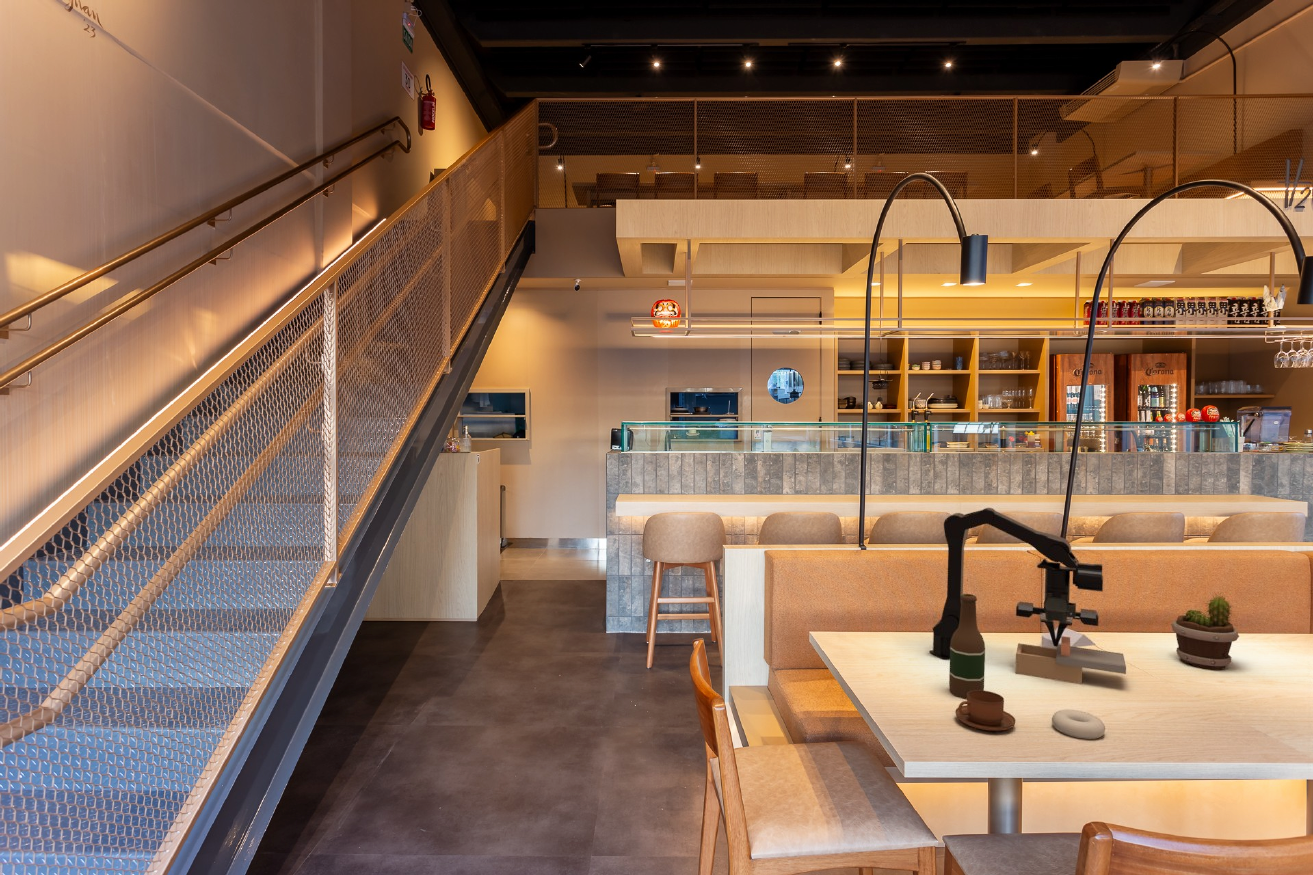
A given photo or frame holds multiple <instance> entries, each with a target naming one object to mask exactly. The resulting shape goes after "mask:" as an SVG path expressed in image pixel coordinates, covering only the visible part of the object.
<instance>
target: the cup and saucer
mask: <svg viewBox="0 0 1313 875" xmlns="http://www.w3.org/2000/svg"><path fill="white" fill-rule="evenodd" d="M1004 706H1005V698H1004V697H1003V696H1002V695H1000V694H998V693H996V692H993V691H990V690H989V691H988V690H984V691H983V690H974V691H970V692H968V693H967V699H966V700H964V701H963V700H962V701H961V702H960V703H959V704H958V707H957V708H955V715H956V717H957V718H958V719H959V721H961V722H962V723H963V724H965V725H968V726H969V727H972V728H974V729H978V730H982V731H989V732H1000V731H1006V730H1009V729H1011V728H1013V727H1014V726H1015V724H1016V718H1015V717H1014V716H1013V715H1012V714H1011V713H1009V712H1007V711H1005V709H1004V708H1005V707H1004Z"/></svg>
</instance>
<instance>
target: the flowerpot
mask: <svg viewBox="0 0 1313 875" xmlns="http://www.w3.org/2000/svg"><path fill="white" fill-rule="evenodd" d="M1222 593H1223V592H1221V593H1220V594H1219V595H1217V594H1214V595H1215V596H1214V595H1212V598H1208V599H1207V600H1208V601H1207V603H1206V604H1205V605H1206V606H1205V607H1206V608H1207V609H1206V610H1204V611H1206V612H1205V613H1204V611H1203V610H1201V609H1198V608H1197V607H1195V608H1192V607H1189V609H1187V610H1186V612H1185V615H1178V617H1177V618H1176V619H1175V620H1173V621H1172V623H1171V624H1170V625H1171V629H1172V631H1173V632H1174V633H1175V637H1176V642H1177V646H1178V647H1177V648H1176V650H1175V652H1176V654H1177V656H1178V657H1179V658H1180V660H1181V662H1182V663H1184V664H1191V665H1192V666H1193V667H1196V668H1199V667H1200V668H1201V669H1206V670H1223V669H1225V668H1226V666H1229V665H1230V664H1231V663H1233V662H1232V661H1233V660H1232V656H1231V655H1230V651H1231V647H1232V643H1233V642H1236V641H1237V640H1238V639H1239V638H1240V635H1239V632H1238V630H1237V629H1236V628H1234V625H1233V623H1231V618H1232V617H1233V612H1234V611H1233V606H1232V605H1231V602H1230V600H1226V596H1224V594H1222ZM1221 594H1222V595H1221ZM1206 614H1207V615H1206Z"/></svg>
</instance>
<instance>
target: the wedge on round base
mask: <svg viewBox="0 0 1313 875" xmlns="http://www.w3.org/2000/svg"><path fill="white" fill-rule="evenodd" d="M1057 629H1058V627H1057V628H1056V629H1055V636H1056V635H1057ZM1062 636H1064V637H1070V646H1072V647H1079V648H1082V647H1090V646H1097V644H1096V643H1095V642H1093V641H1092V640H1091V639H1090V638H1089V637H1087V635H1085V634H1084V633H1082V632H1077V631H1076V630H1072V629H1070V628H1067V627H1066V628H1065V630H1064V632H1063V634H1062ZM1062 636H1061V637H1062ZM1040 645H1041V646H1042V647H1049V648H1056V649H1057V647H1056V646H1054V645H1053V642H1052V639H1051V635H1050V632H1046V633H1044V632H1043V633H1042V634H1041V644H1040ZM1058 645H1061V638H1060V641H1059V643H1058Z"/></svg>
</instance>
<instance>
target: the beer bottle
mask: <svg viewBox="0 0 1313 875" xmlns="http://www.w3.org/2000/svg"><path fill="white" fill-rule="evenodd" d="M960 599H961V611H960V621H959V626H958V628H957V630H956V631H955V632H954V633H953V636H952V638H951V643H950V659H949V671H948V672H949V676H948V677H949V681H948V683H949V685H948V686H949V691H950V693H951V694H952V695H953V696H955V697H957V698H960V699H961V698H962V699H966V700H967V693H968V692H970V691H974V690H983V691H985V673H986V672H985V669H986V668H985V666H986V645H985V641H984V637H983V635H982V634H981V632H980V631H979V628H978V620H977V601H978V598H977V596H976V595H974V594H972V593H963V595H961V597H960Z"/></svg>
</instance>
